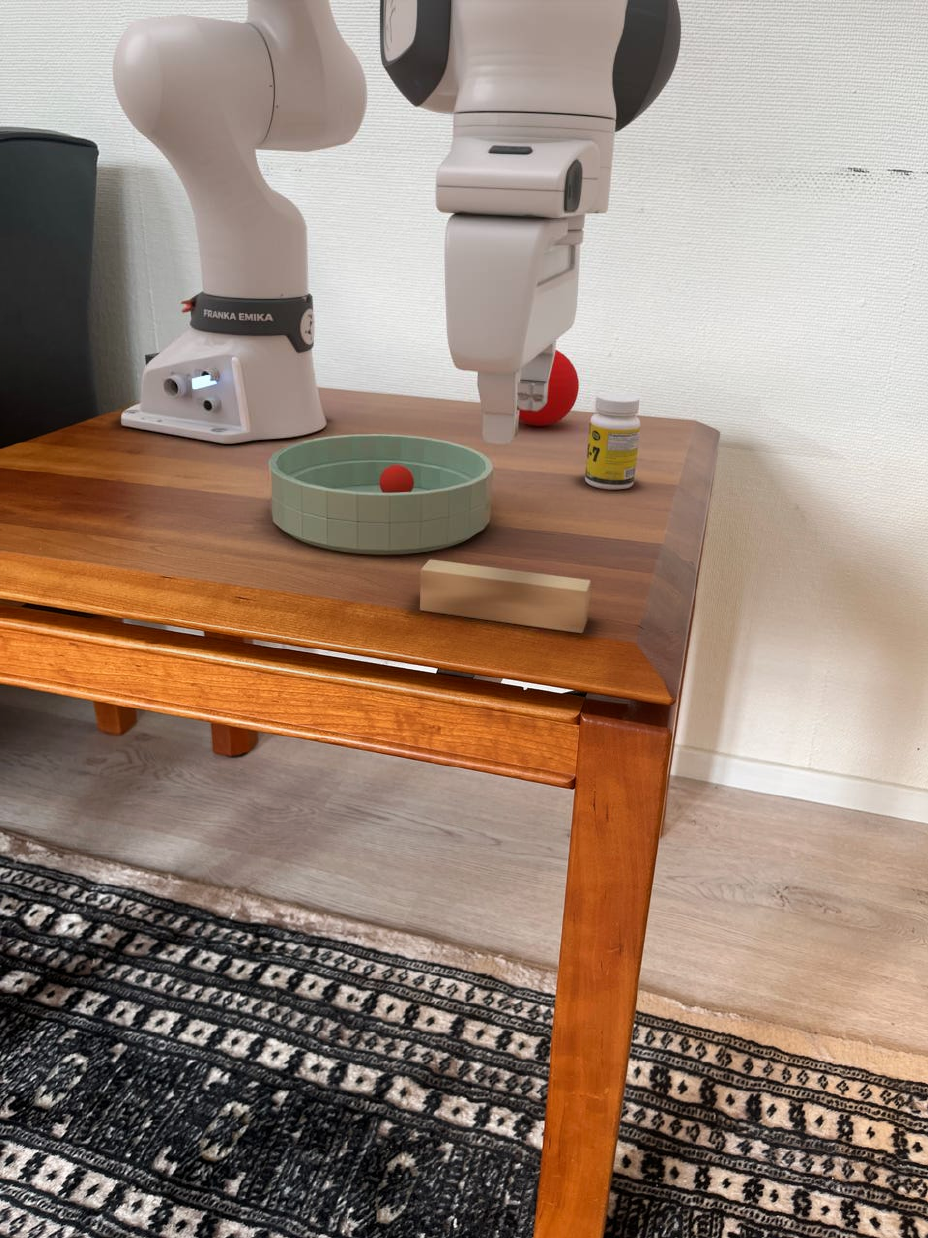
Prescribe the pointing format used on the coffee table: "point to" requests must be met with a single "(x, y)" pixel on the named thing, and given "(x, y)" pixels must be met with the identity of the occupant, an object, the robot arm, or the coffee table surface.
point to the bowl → (379, 493)
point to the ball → (396, 479)
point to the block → (505, 595)
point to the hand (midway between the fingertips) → (516, 424)
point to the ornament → (555, 394)
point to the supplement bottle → (613, 441)
